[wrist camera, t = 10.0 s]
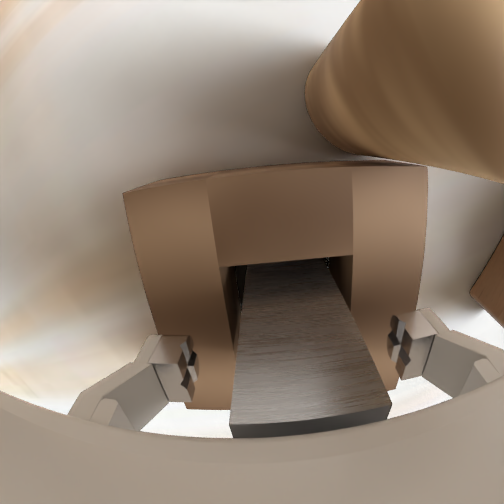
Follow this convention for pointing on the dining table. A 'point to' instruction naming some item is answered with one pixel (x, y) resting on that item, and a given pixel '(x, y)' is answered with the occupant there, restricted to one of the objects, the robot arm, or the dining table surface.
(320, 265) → the brushed metal bar
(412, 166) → the socket block
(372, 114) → the oak dowel
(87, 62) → the dining table surface
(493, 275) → the wooden block
